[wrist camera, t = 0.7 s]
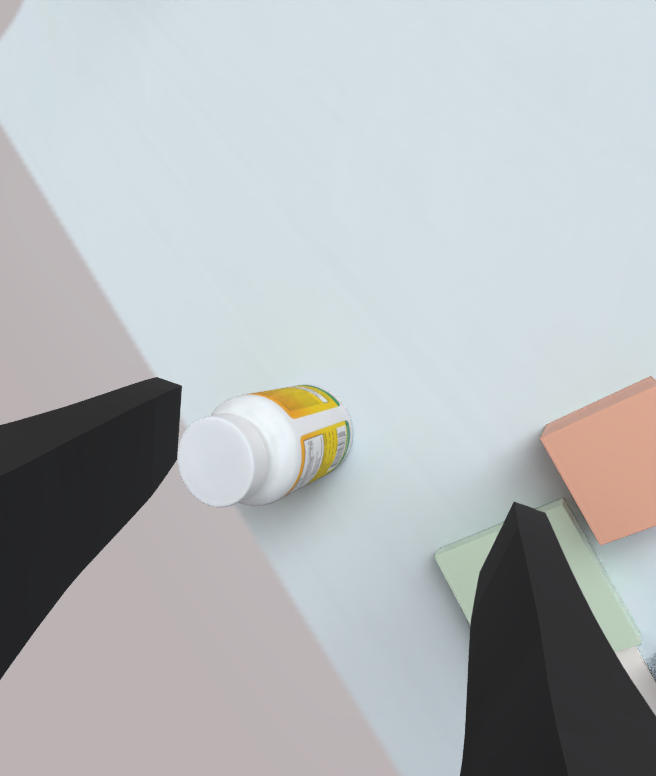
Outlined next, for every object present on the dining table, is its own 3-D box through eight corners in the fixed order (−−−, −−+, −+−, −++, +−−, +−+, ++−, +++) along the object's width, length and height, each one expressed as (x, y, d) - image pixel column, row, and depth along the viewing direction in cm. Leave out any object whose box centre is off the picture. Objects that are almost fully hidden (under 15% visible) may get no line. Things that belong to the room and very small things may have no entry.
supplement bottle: (370, 454, 32) (287, 501, 23) (294, 486, 34) (193, 541, 25) (330, 367, 32) (235, 381, 24) (259, 404, 34) (147, 430, 26)
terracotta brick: (709, 475, 25) (729, 499, 22) (599, 516, 27) (600, 545, 24) (650, 375, 26) (659, 383, 22) (546, 424, 28) (539, 438, 24)
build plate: (639, 631, 27) (641, 644, 26) (504, 670, 30) (501, 683, 29) (563, 497, 28) (562, 504, 27) (439, 548, 30) (433, 556, 29)
